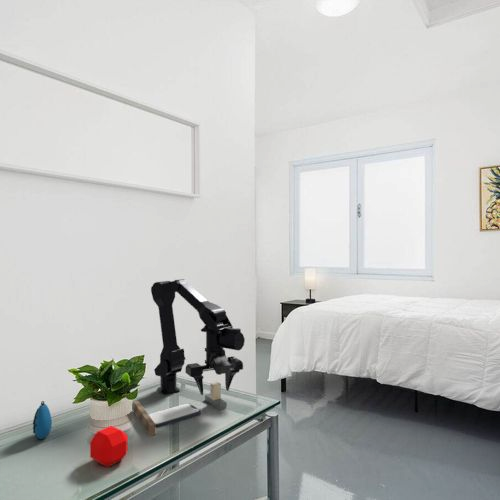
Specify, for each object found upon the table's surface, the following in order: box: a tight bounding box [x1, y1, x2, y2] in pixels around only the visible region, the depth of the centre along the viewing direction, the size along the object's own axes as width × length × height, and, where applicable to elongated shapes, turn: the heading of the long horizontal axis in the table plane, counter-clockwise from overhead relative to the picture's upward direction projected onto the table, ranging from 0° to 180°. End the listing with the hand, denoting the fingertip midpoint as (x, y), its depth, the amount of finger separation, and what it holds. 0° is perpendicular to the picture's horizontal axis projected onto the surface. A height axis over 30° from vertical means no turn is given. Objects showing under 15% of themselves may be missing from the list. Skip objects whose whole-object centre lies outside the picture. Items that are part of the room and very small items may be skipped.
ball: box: [89, 425, 129, 468], centre depth 107 cm, size 8×8×8 cm
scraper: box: [204, 381, 228, 410], centre depth 145 cm, size 10×2×7 cm, turn 34°
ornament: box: [32, 400, 53, 440], centre depth 120 cm, size 8×5×10 cm, turn 18°
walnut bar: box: [133, 400, 156, 437], centre depth 130 cm, size 20×2×3 cm, turn 28°
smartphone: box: [148, 403, 202, 428], centre depth 134 cm, size 9×2×16 cm
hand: (214, 392), depth 145 cm, fingers open, 9 cm apart
